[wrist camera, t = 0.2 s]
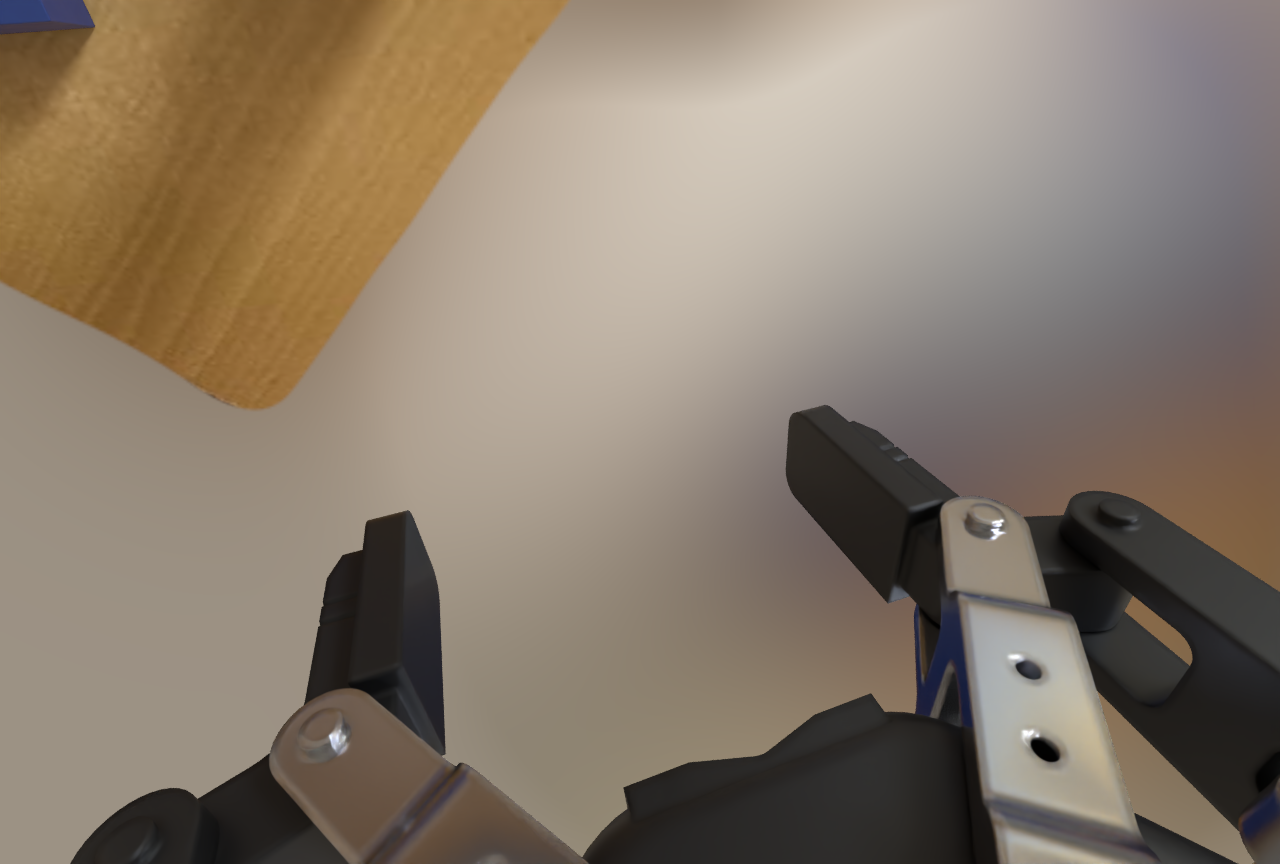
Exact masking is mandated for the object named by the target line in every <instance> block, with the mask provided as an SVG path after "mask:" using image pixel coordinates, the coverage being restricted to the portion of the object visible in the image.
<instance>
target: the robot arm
mask: <svg viewBox="0 0 1280 864" xmlns="http://www.w3.org/2000/svg"><path fill="white" fill-rule="evenodd" d="M786 477H787V482H788V485H789V487H790V490H791V491H792V493H793V495H794V496H795V498H796V499H797V500H798V501H799V502H800V504H802V505H803V507H804V508H805V509H806V510H807V511H808V513H809V514H810V515H811V516H812V517H813V518H814V520H815V521H816V522H817V523H818V524H819V525H820V526H821V528H822V529H823V530H824V531H825V532H826V533H827V534H828V536H829V537H830V538H831V539H832V540H833V541H834V542H835V544H836V545H837V546H838V547H839V548H840V549H841V550H842V552H843V553H844V554H845V555H846V556H847V557H848V558H849V560H850V561H851V562H852V563H853V564H854V565H855V566H856V568H857V569H858V570H859V571H860V572H861V573H862V574H863V576H864V577H865V578H866V579H867V580H868V581H869V582H870V584H871V585H872V586H873V587H874V588H875V589H876V590H877V592H878V593H879V594H880V595H881V596H882V597H883V598H884V599H885V601H886V602H887V603H891V602H894V601H897V600H900V599H903V598H906V597H909V596H910V597H911V598H912V599H913V600H914V601H915V602H916V603H917V604H916V608H915V612H914V630H915V658H916V683H917V701H916V711H915V714H913V713H905V712H884V711H883V709H882V708H881V706H880V705H879V704H878V703H877V701H876V699H875V698H874V697H873V695H872V694H868V695H865V696H863V697H860V698H857V699H855V700H852V701H849V702H847V703H844V704H842V705H839V706H836V707H834V708H831V709H828V710H826V711H823V712H821V713H818V714H815V715H814V716H812V717H811V718H810V719H809V720H807V721H806V722H805V723H803V724H802V725H801V726H800V727H798V728H797V729H796V730H794V731H793V732H792V733H791V734H789V735H788V736H787V737H786V738H784V739H783V740H782V741H780V742H779V743H778V744H777V745H776V746H774V747H773V748H771V749H770V750H769V751H767V752H766V753H764V754H762V755H759V756H754V757H743V758H733V759H722V760H712V761H701V762H690V763H687V764H684V765H681V766H679V767H676V768H673V769H671V770H668V771H666V772H663V773H660V774H658V775H655V776H652V777H650V778H647V779H645V780H642V781H639V782H637V783H634V784H631V785H629V786H626V787H624V793H625V798H626V803H627V808H628V809H627V810H625V811H624V812H623V813H621V814H620V815H619V816H618V817H616V818H615V819H614V820H613V821H612V822H611V823H610V824H609V825H608V826H607V827H606V828H605V829H604V830H603V831H602V832H601V833H600V834H599V835H598V836H597V838H596V839H595V840H594V841H593V843H592V844H591V845H590V846H589V848H588V849H587V851H586V852H585V854H584V855H583V857H581V856H579V855H578V854H577V853H576V852H575V851H573V850H572V849H571V848H570V847H569V846H567V845H566V844H565V843H564V842H562V841H561V840H560V839H559V838H557V837H556V836H555V835H554V834H553V833H552V832H550V831H549V830H548V829H547V828H546V827H544V826H543V825H542V824H541V823H539V822H538V821H537V820H536V819H535V818H533V817H532V816H531V815H530V814H529V813H527V812H526V811H525V810H524V809H522V808H521V807H520V806H519V805H518V804H516V803H515V802H514V801H513V800H512V799H510V798H509V797H508V796H507V795H505V794H504V793H503V792H502V791H501V790H499V789H498V788H497V787H496V786H494V785H493V784H492V783H491V782H490V781H489V780H487V779H486V778H485V777H484V776H483V775H481V774H480V773H479V772H477V771H476V770H475V769H473V768H472V767H470V766H469V765H467V764H464V763H459V764H458V765H457V766H454V765H453V764H451V763H450V762H448V761H447V760H446V759H445V758H443V757H442V755H445V728H444V704H443V703H444V702H443V679H442V678H443V677H442V651H441V628H440V602H439V601H440V600H439V592H438V585H437V580H436V576H435V573H434V569H433V567H432V564H431V561H430V559H429V556H428V554H427V552H426V549H425V546H424V544H423V541H422V539H421V536H420V534H419V531H418V528H417V526H416V523H415V521H414V518H413V516H412V514H411V513H410V511H408V510H407V511H403V512H399V513H395V514H392V515H388V516H384V517H380V518H376V519H372V520H368V521H367V522H366V526H365V534H364V543H363V550H360V551H357V552H353V553H349V554H345V555H342V557H341V559H340V560H339V561H338V563H337V564H336V566H335V567H334V569H333V570H332V572H331V573H330V575H329V577H328V578H327V581H326V587H325V592H324V598H323V605H324V606H323V607H322V609H321V615H320V620H319V622H320V626H319V627H318V632H317V637H316V643H315V648H314V654H313V660H312V665H311V670H310V676H309V682H308V687H307V693H306V698H305V703H304V706H303V707H301V708H300V709H298V710H297V711H296V712H295V713H294V714H293V715H292V716H291V717H290V718H289V719H288V721H287V722H286V723H285V724H284V725H283V727H282V728H281V730H280V731H279V732H278V734H277V736H276V739H275V740H274V742H273V745H272V748H271V751H270V754H268V755H267V756H265V757H264V758H263V759H262V760H260V761H259V762H257V763H256V764H254V765H253V766H251V767H250V768H248V769H246V770H245V771H243V772H242V773H240V774H238V775H236V776H235V777H233V778H231V779H230V780H228V781H226V782H225V783H223V784H222V785H220V786H218V787H217V788H215V789H213V790H212V791H210V792H208V793H207V794H205V795H203V796H202V797H200V798H198V799H197V798H196V797H195V796H194V795H193V794H191V793H190V792H188V791H186V790H183V789H180V788H168V789H161V790H158V791H155V792H152V793H149V794H146V795H144V796H142V797H140V798H138V799H136V800H134V801H132V802H131V803H129V804H127V805H126V806H125V807H123V808H121V809H120V810H119V811H117V812H116V813H114V814H113V815H112V816H111V817H110V818H108V819H107V820H106V821H105V822H104V823H103V824H102V825H101V826H100V827H98V828H97V829H96V830H95V831H94V833H93V834H92V835H91V836H90V837H89V838H88V839H87V840H86V841H85V843H84V844H83V845H82V847H81V848H80V849H79V851H78V852H77V854H76V855H75V857H74V859H73V860H72V862H71V864H1237V863H1235V862H1233V861H1231V860H1229V859H1227V858H1225V857H1223V856H1221V855H1219V854H1217V853H1215V852H1213V851H1211V850H1209V849H1207V848H1205V847H1203V846H1201V845H1199V844H1197V843H1195V842H1193V841H1191V840H1189V839H1186V838H1185V837H1182V836H1181V835H1179V834H1176V833H1174V832H1172V831H1170V830H1168V829H1166V828H1164V827H1162V826H1160V825H1158V824H1156V823H1154V822H1152V821H1150V820H1148V819H1146V818H1144V817H1142V816H1140V815H1138V814H1136V813H1134V812H1133V809H1132V805H1131V802H1130V799H1129V796H1128V792H1127V789H1126V786H1125V782H1124V779H1123V776H1122V773H1121V769H1120V766H1119V763H1118V759H1117V756H1116V753H1115V749H1114V746H1113V743H1112V740H1111V736H1110V733H1109V730H1108V726H1107V723H1106V720H1105V717H1104V713H1103V711H1102V707H1101V703H1100V700H1099V697H1098V694H1097V691H1098V692H1099V693H1100V694H1101V695H1102V696H1103V697H1104V698H1105V699H1106V700H1107V701H1108V702H1109V703H1110V704H1111V705H1112V706H1113V707H1114V708H1115V709H1116V710H1117V711H1118V712H1119V713H1120V714H1121V715H1122V716H1123V717H1124V718H1125V719H1126V720H1127V721H1128V722H1129V723H1130V724H1131V725H1132V726H1133V727H1134V728H1135V729H1136V730H1137V731H1138V732H1139V733H1140V734H1141V735H1142V736H1143V737H1144V738H1145V739H1146V740H1147V741H1148V742H1150V744H1152V745H1153V747H1154V748H1155V749H1157V751H1159V753H1160V754H1161V755H1163V756H1164V757H1165V758H1166V759H1167V760H1168V761H1169V762H1170V763H1171V764H1172V765H1173V766H1174V767H1175V768H1176V769H1177V770H1178V771H1179V772H1180V773H1181V774H1182V775H1183V776H1184V777H1185V778H1186V779H1187V780H1188V781H1189V782H1190V783H1191V784H1192V785H1193V786H1194V787H1195V788H1196V789H1197V790H1198V791H1199V792H1200V793H1201V794H1202V795H1203V796H1204V797H1205V798H1206V799H1207V800H1208V801H1209V802H1210V803H1211V804H1212V805H1213V806H1214V807H1215V808H1216V809H1217V810H1218V811H1219V812H1220V813H1221V814H1222V815H1223V816H1224V817H1225V818H1226V819H1227V820H1228V821H1229V822H1230V823H1231V824H1232V825H1233V826H1234V827H1235V828H1236V829H1237V830H1238V831H1239V832H1240V835H1241V838H1242V841H1243V844H1244V845H1245V847H1246V849H1247V851H1248V853H1249V854H1250V856H1251V857H1252V859H1253V860H1254V863H1253V864H1280V592H1279V591H1277V590H1276V589H1274V588H1272V587H1271V586H1270V585H1268V584H1267V583H1265V582H1264V581H1262V580H1260V579H1259V578H1257V577H1255V576H1254V575H1253V574H1251V573H1250V572H1248V571H1247V570H1245V569H1244V568H1242V567H1240V566H1239V565H1237V564H1236V563H1234V562H1233V561H1231V560H1230V559H1228V558H1227V557H1225V556H1223V555H1222V554H1220V553H1219V552H1217V551H1216V550H1214V549H1213V548H1211V547H1210V546H1208V545H1206V544H1205V543H1203V542H1202V541H1200V540H1199V539H1197V538H1196V537H1194V536H1192V535H1191V534H1189V533H1188V532H1186V531H1185V530H1183V529H1182V528H1180V527H1179V526H1177V525H1176V524H1174V523H1173V522H1171V521H1170V520H1168V519H1166V518H1165V517H1163V516H1162V515H1160V514H1159V513H1157V512H1155V511H1154V510H1152V509H1151V508H1149V507H1148V506H1146V505H1144V504H1143V503H1141V502H1139V501H1136V500H1134V499H1132V498H1129V497H1126V496H1123V495H1120V494H1116V493H1111V492H1104V491H1087V492H1081V493H1079V494H1076V495H1075V496H1073V497H1072V498H1071V499H1070V501H1069V504H1068V506H1067V508H1066V511H1065V513H1064V515H1061V516H1033V517H1022V516H1021V515H1020V514H1019V513H1018V512H1017V511H1016V510H1014V509H1013V508H1011V507H1009V506H1008V505H1006V504H1004V503H1001V502H999V501H996V500H993V499H990V498H985V497H980V496H961V497H960V496H958V495H957V494H956V493H955V492H953V491H952V490H951V489H950V488H948V487H947V486H946V485H945V484H943V483H942V482H941V481H939V480H938V479H937V478H936V477H935V476H933V475H932V474H931V473H929V472H928V471H927V470H926V469H924V468H923V467H922V466H921V465H919V464H918V463H917V462H915V461H914V460H913V459H912V458H910V459H909V458H908V455H907V454H906V453H904V452H903V451H902V450H901V449H899V448H898V447H894V444H893V443H892V442H890V441H889V440H888V439H887V438H885V437H884V436H882V434H880V433H879V432H878V431H876V430H874V429H872V428H869V427H867V426H864V425H862V424H860V423H857V422H855V421H852V422H848V421H847V420H846V419H845V418H844V417H842V416H841V415H840V414H838V413H837V412H836V411H835V410H834V409H833V408H831V407H830V406H828V405H823V406H819V407H815V408H812V409H807V410H803V411H800V412H796V413H793V414H792V415H791V417H790V420H789V429H788V444H787V459H786ZM1132 596H1134V597H1136V598H1137V599H1138V600H1139V601H1141V602H1142V603H1143V604H1144V605H1146V606H1147V607H1148V608H1149V609H1151V610H1152V611H1153V612H1155V613H1156V614H1157V615H1158V616H1159V617H1161V618H1162V619H1163V620H1165V621H1166V622H1167V623H1168V624H1170V625H1171V626H1172V627H1173V628H1175V629H1176V630H1177V631H1178V632H1179V633H1180V634H1181V635H1182V636H1183V637H1184V638H1185V640H1186V641H1187V642H1188V644H1189V646H1190V648H1191V651H1192V656H1193V660H1192V663H1191V665H1190V666H1189V665H1188V664H1187V663H1185V662H1184V661H1183V660H1182V659H1181V658H1180V657H1178V656H1177V655H1176V654H1175V653H1174V652H1172V651H1171V650H1170V649H1169V648H1168V647H1166V646H1165V645H1164V644H1163V643H1162V642H1160V641H1159V640H1158V639H1157V638H1156V637H1154V636H1153V635H1152V634H1151V633H1150V632H1148V631H1147V630H1146V629H1145V628H1143V627H1142V626H1141V625H1140V624H1139V623H1138V622H1136V621H1135V620H1134V619H1133V618H1132V617H1130V616H1129V615H1128V614H1127V613H1126V612H1124V611H1125V609H1126V607H1127V605H1128V603H1129V602H1130V600H1131V598H1132Z"/></svg>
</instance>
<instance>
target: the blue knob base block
mask: <svg viewBox="0 0 1280 864" xmlns="http://www.w3.org/2000/svg"><path fill="white" fill-rule="evenodd" d="M93 27H95V25H94V23H93V21H92V19H91V16H90V14H89V12H88V10H87V8H86V6H85V4H84V2H83V0H0V34H11V33H25V32H38V31H52V30H66V29H79V28H93Z"/></svg>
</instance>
